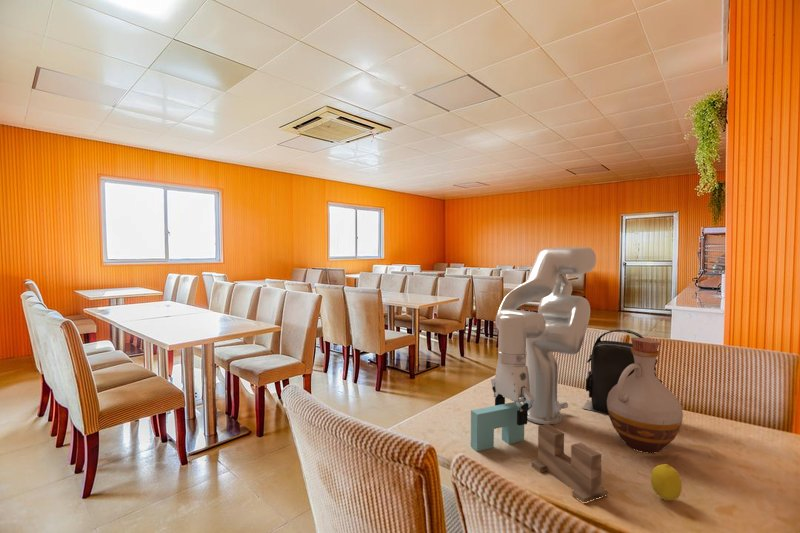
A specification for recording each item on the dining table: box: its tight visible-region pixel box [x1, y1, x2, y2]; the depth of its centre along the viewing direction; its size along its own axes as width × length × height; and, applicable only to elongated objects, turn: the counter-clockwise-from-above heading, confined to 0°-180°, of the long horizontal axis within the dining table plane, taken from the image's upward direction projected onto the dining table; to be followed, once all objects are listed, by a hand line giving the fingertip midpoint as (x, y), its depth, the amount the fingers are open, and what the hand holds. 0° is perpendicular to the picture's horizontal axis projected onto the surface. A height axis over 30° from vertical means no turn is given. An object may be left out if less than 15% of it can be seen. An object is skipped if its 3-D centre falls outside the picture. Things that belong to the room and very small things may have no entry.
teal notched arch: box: [470, 401, 525, 452], centre depth 111 cm, size 16×3×10 cm, turn 113°
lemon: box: [650, 463, 683, 501], centre depth 86 cm, size 6×6×8 cm
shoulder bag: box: [582, 328, 663, 415], centre depth 131 cm, size 23×9×28 cm, turn 54°
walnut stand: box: [531, 424, 608, 502], centre depth 93 cm, size 7×16×10 cm, turn 23°
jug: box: [607, 336, 684, 454], centre depth 108 cm, size 20×18×30 cm
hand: (510, 417), depth 112 cm, fingers open, 9 cm apart
